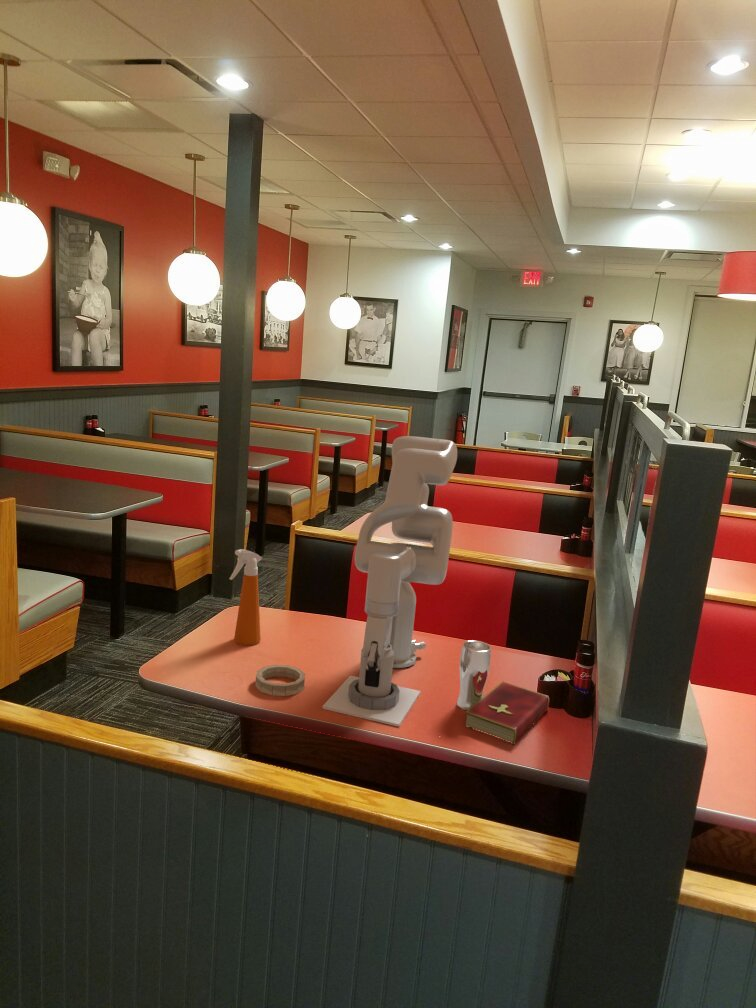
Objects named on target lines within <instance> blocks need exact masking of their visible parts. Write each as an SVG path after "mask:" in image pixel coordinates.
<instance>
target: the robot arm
mask: <svg viewBox="0 0 756 1008" xmlns="http://www.w3.org/2000/svg"><path fill="white" fill-rule="evenodd" d="M391 460H392V465H391V468H390V469H391V470H390V475H389V480H388V485H387V489H386V495H385V500H384V501H383V503H382V504H380V506H378V507H377V508H375V509H374V510H373V511H372V512H370V513H369V515H367V517H366V518H365V520H364V521H363V524H362V525H361V527H360V530H359V533H358V537H357V538H358V539H357V543H356V546H355V552H354V565H355V567H356V569H357V570H358V571H359V572H362V573H366V574H367V579H366V581H367V582H366V590H365V591H366V593H365V603H364V612H365V613H366V615H367V619H366V623H365V629H364V630H365V631H364V637H363V645H362V648H363V652H362V655H363V657H365V656H366V657H367V655H368V653H369V655H368V661H367V667H366V673H365V686H371V687H376V688H377V687H378V686H379V679H380V670H379V666H380V660H381V659H383V658H384V655H385V652H386V649H387V648H388V646H389V644H391V646H392V648H391V649H392V650H393V651H394V659H393V669H404V668H407V667H409V668H410V667H411V666H413V665H415V663H416V662H417V655H416V654H415V652H417V651H419V650H425V649H426V648H427V645H426V642H425V641H419V642H417V641H416V639H413V635H414V624H415V615H416V606H417V605H416V604H417V595H416V592H415V590H414V588H413V586H412V585H411V583H418V584H425V585H433V586H434V585H436V586H437V585H441V584H442V583H443V582H444V580H445V579H446V576H447V571H448V566H449V557H450V551H451V544H452V535H453V527H454V526H453V524H454V523H453V521H454V520H453V515H452V513H451V512H450V511H449V510H448V509H446V508H443V507H438V506H436V507H435V506H429V505H428V501H429V495H430V487H429V486H428V485H432V486H433V485H436V486H445V485H447V484H448V483H449V482H450V479H451V477H452V474H453V472H454V469H455V467H456V464H457V460H458V448H457V445H456V443H455V442H454V441H453V440H449V439H441V438H431V437H423V436H413V435H403V436H399V437H397V438H395V439H394V440H393V441H392V445H391ZM389 523H391V532H392V534H393V535H394V536H395V537H396V538H397V539H402V540H407V541H412V542H413V541H414V542H419V543H420V542H422V543H427V544H431V545H432V546H428V545H427V546H424V545H417V544H412V543H404V542H391V543H387V542H380V541H372V538H373V535H374V534H375V532H376V531H377V530H379V529H380V528H381V527H382V526H384V525H387V524H389ZM376 654H379V657H376ZM375 660H377V664H376V662H375Z"/></svg>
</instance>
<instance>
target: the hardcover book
mask: <svg viewBox="0 0 756 1008" xmlns="http://www.w3.org/2000/svg"><path fill="white" fill-rule="evenodd" d="M549 705H550V697H549V695H546V694H543V693H541V692H538V691H534V690H533V689H532V690H531V689H528V688H526V687H522V686H519V685H516V684H513V683H510V682H507V681H504V680H502V681H501V682H499V684H497V685H496V686H494V687H493V688H492V689H491V690H490V691H489V692H487V693H486V694H485V695H484V696H483V698H482V699H480V700H479V701H478V702H477V703H475V704H474V705H473V706H472V707H471V708H469V709H468V710H467V711H465V712H464V714H465V715H466V721H465V727H466V726H468V727H467V728H469V727H472V728H474V729H477V730H480V731H483V732H486V733H488V734H491V735H494V736H497V737H500V738H502V739H504V740H507V741H510V742H512V743H511V745H512V744H514V743H515V742H516V741H517V740H518V739H519V738H520V737H521V736H522V735H523V734H524V733H525V732H526V731H527V732H528V730H530V728H531V727H532V726H534V724H535V723H537V721H538V720H539V719H540V718H542V716H543V715H544V714H545V713H546V712H547V711H548V709H549ZM533 723H534V724H533ZM474 729H473V730H474ZM477 730H476V731H477ZM480 731H479V732H480ZM527 732H526V733H527ZM526 733H525V734H526ZM488 734H487V735H488ZM525 734H524V735H525ZM524 735H523V736H524ZM523 736H522V737H523ZM522 737H521V738H522ZM521 738H520V739H521ZM520 739H519V740H520ZM504 740H503V741H504ZM519 740H518V741H519ZM507 741H506V742H507ZM518 741H517V742H518ZM517 742H516V743H517ZM516 743H515V744H516ZM515 744H514V745H515Z"/></svg>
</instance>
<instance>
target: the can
mask: <svg viewBox="0 0 756 1008" xmlns="http://www.w3.org/2000/svg"><path fill="white" fill-rule="evenodd" d="M391 648H392V646H391V644H389V646H388V648H387V649H386V652H385V655H384V658H383V659H381V660H380V666H379V670H380V679H379V686H378V687H377V688H376V687H371V686H365V673H366V667H367V661H368V655H369V653H368V655H367V657H366V656H365V657H363V655H362V652H363V647H362V648H361V653H360V662H359V663H360V664H359V676H358V677H359V685H358V689H359V691H360V692H361V693H362V695H365V696H369V697H385V696H387V695H388V694H389V693H390V691H391V682H392V679H393V678H392V677H393V669H394V668H393V659H394V651H393V650H392V649H391ZM376 657H379V654H376ZM375 662H376V664H377V660H375Z"/></svg>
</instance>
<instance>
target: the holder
mask: <svg viewBox="0 0 756 1008" xmlns="http://www.w3.org/2000/svg"><path fill="white" fill-rule="evenodd" d="M358 685H359V676H355V675H350V676H348V678H347V679H346V680H345V681H344V682H343V683H342V684H341V685H340V686H339V687H338V688H337V690H336V691H334V693H333V694H332V695H331V696H330V697H329V698H328V699H327V701H326V702H325V703H324V704H323V705H322V709H323V710H327V711H331V712H335V713H339V714H343V715H344V714H345V715H348V716H352V717H356V718H361V719H364V720H369V721H373V722H378V723H382V724H386V725H389V726H394V727H398V728H400V726H401V724H402V723H403V722H404V720H405V719H404V718H406V717H407V715H408V714H409V712H410V711H411V709H412V708H413V706H414V704H415V703H416V701H417V700H418V698H419V697H418V696H420V695H421V694H422V693H421V690H418V689H413V688H408V687H403V686H399V685H397V683H396V684H395V683H393V682H392V681H391V691H390V693H389V694H388V695H387V696H385V697H369V696H365V695H362V693H361V692H360V691H359V689H358ZM419 694H420V695H419ZM417 697H418V698H417ZM416 699H417V700H416ZM414 702H415V703H414ZM412 705H413V706H412ZM411 707H412V708H411ZM409 710H410V711H409ZM407 713H408V714H407Z"/></svg>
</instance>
